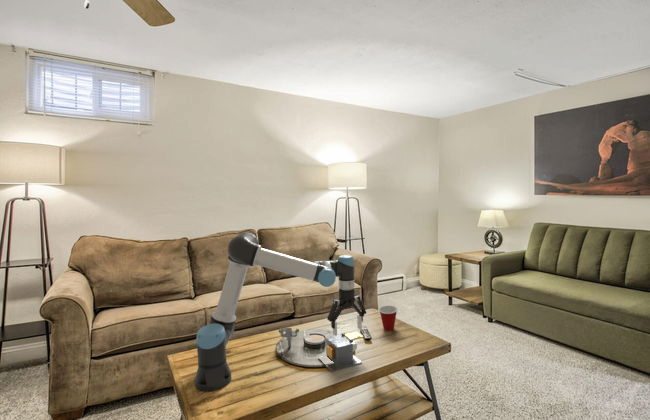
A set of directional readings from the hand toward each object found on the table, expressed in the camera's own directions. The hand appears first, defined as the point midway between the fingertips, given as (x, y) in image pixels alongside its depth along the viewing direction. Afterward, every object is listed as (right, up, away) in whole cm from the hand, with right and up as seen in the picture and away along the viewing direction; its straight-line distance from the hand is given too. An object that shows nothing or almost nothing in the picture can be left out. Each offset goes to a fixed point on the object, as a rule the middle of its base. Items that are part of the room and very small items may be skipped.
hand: (347, 331), depth 164 cm
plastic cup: (+26, -11, +33) cm, 43 cm away
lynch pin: (-2, -10, -1) cm, 11 cm away
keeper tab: (+3, -3, +2) cm, 5 cm away
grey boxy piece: (-4, -13, -1) cm, 14 cm away
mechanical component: (-29, -14, +14) cm, 35 cm away
